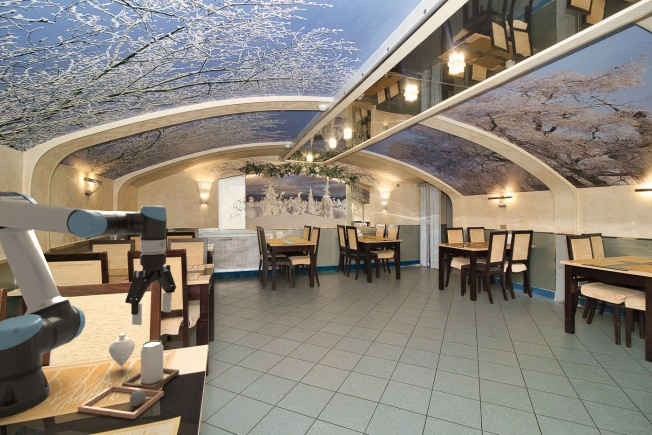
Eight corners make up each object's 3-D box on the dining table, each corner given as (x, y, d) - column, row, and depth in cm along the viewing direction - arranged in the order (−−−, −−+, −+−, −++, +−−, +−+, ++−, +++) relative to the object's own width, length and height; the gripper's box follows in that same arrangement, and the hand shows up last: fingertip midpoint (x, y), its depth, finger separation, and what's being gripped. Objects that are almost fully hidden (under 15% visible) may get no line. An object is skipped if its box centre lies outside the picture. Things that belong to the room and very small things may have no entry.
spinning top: (118, 363, 117) (119, 330, 117) (139, 363, 116) (139, 330, 116) (103, 373, 109) (103, 338, 109) (125, 374, 109) (125, 338, 109)
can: (153, 386, 101) (153, 348, 101) (135, 383, 102) (136, 346, 102) (167, 376, 107) (167, 340, 107) (150, 374, 109) (150, 338, 109)
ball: (126, 408, 89) (126, 393, 89) (137, 400, 93) (137, 386, 93) (138, 409, 89) (138, 395, 89) (149, 401, 93) (149, 387, 93)
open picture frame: (77, 411, 88) (77, 406, 88) (113, 389, 99) (113, 385, 99) (133, 419, 85) (133, 414, 85) (163, 395, 96) (163, 391, 96)
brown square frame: (122, 387, 100) (122, 383, 100) (149, 370, 112) (149, 366, 112) (155, 391, 98) (155, 387, 98) (179, 373, 110) (179, 369, 110)
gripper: (134, 257, 92) (133, 331, 92) (187, 249, 116) (186, 307, 116) (111, 257, 93) (110, 329, 93) (168, 248, 118) (168, 306, 118)
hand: (152, 317), depth 105 cm, fingers open, 13 cm apart
